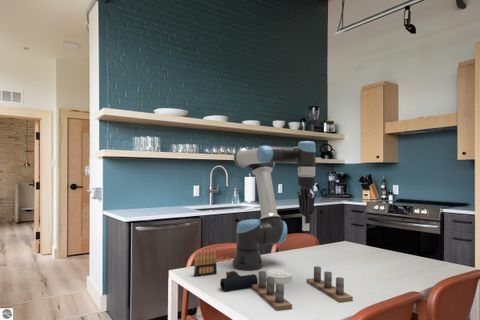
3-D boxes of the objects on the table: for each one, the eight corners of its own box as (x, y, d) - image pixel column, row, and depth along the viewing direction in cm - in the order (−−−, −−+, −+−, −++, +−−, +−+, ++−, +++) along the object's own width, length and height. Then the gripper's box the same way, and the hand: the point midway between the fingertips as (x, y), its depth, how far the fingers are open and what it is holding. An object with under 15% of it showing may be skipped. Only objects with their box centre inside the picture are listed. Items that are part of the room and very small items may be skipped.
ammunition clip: (195, 277, 157) (195, 250, 158) (193, 275, 159) (194, 249, 159) (216, 274, 162) (217, 248, 162) (215, 273, 164) (215, 247, 164)
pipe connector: (214, 271, 149) (245, 268, 155) (214, 284, 149) (245, 279, 155) (225, 280, 138) (258, 275, 145) (224, 293, 138) (257, 288, 145)
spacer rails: (251, 288, 144) (251, 270, 144) (318, 281, 154) (318, 264, 154) (276, 310, 121) (277, 289, 121) (352, 300, 132) (352, 280, 132)
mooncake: (275, 274, 165) (275, 266, 165) (297, 279, 156) (297, 271, 157) (259, 279, 156) (259, 271, 156) (281, 286, 148) (281, 277, 148)
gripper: (292, 176, 157) (291, 228, 156) (305, 176, 144) (305, 233, 143) (307, 176, 159) (306, 227, 158) (321, 177, 146) (321, 232, 146)
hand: (305, 230), depth 151 cm, fingers closed
